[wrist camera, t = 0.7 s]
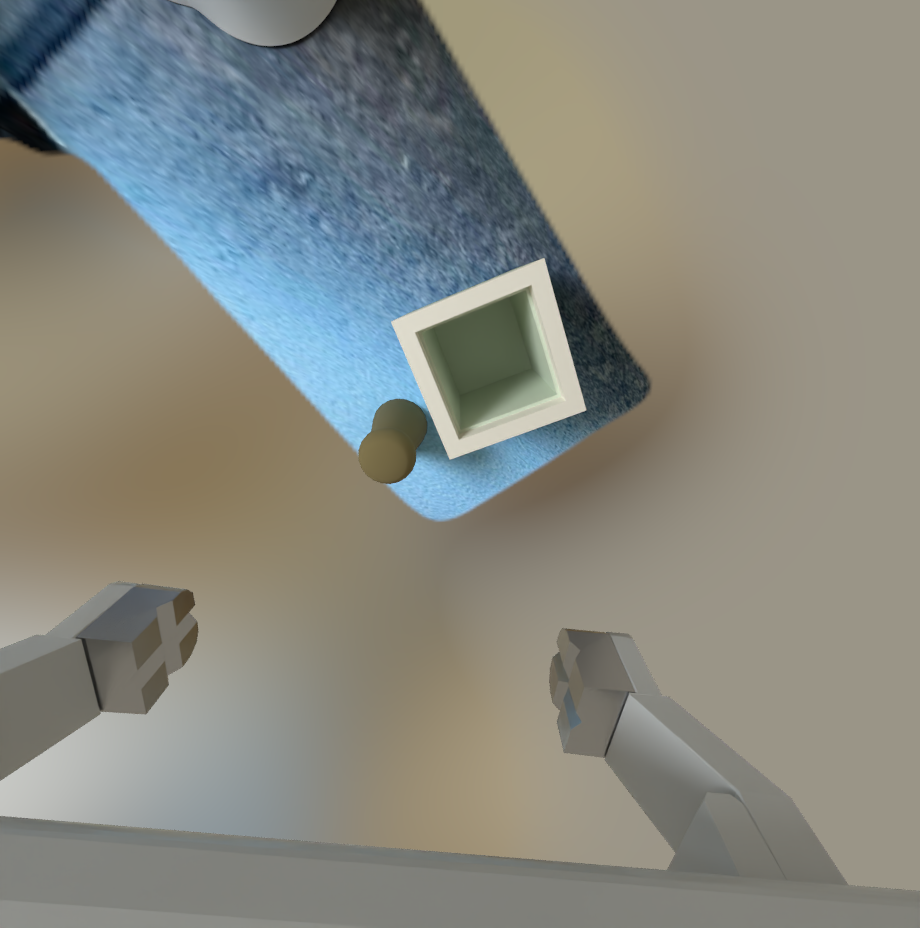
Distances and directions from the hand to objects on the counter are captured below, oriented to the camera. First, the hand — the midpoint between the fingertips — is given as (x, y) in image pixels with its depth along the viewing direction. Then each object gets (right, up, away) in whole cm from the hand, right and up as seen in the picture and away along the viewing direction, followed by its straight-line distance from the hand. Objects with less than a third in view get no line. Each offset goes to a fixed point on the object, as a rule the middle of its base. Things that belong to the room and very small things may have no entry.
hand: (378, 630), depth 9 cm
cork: (-5, +8, +38) cm, 39 cm away
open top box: (+4, +16, +34) cm, 38 cm away
